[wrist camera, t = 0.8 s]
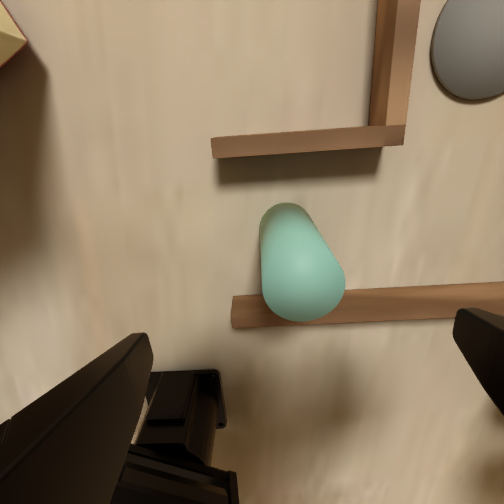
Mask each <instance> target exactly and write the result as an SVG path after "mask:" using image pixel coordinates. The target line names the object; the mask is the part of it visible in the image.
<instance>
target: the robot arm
mask: <svg viewBox="0 0 504 504" xmlns="http://www.w3.org/2000/svg"><path fill="white" fill-rule="evenodd" d="M453 338H454V340H455V342H456V344H457V346H458V347H459V349H460V351H461V352H462V354H463V356H464V357H465V359H466V360H467V362H468V364H469V365H470V367H471V369H472V370H473V372H474V374H475V375H476V377H477V379H478V380H479V382H480V383H481V385H482V387H483V388H484V390H485V391H486V393H487V394H488V395H489V397H490V398H491V400H492V401H493V402H494V404H495V405H496V406H497V408H498V409H499V410H500V412H501V413H502V414H503V416H504V317H502V316H499V315H496V314H494V313H491V312H488V311H485V310H482V309H479V308H476V307H466V308H460V309H458V310H457V312H456V317H455V322H454V327H453ZM152 365H153V352H152V349H151V345H150V341H149V338H148V335H147V334H146V333H144V332H143V333H132V334H130V335H129V336H127V337H126V338H125V339H123V340H122V341H120V342H119V343H117V344H116V345H114V346H113V347H112V348H110V349H109V350H107V351H106V352H104V353H103V354H101V355H100V356H99V357H97V358H96V359H94V360H93V361H91V362H90V363H88V364H87V365H86V366H84V367H83V368H81V369H80V370H78V371H77V372H76V373H74V374H73V375H71V376H70V377H68V378H67V379H65V380H64V381H63V382H61V383H60V384H58V385H57V386H55V387H54V388H52V389H51V390H50V391H48V392H47V393H45V394H44V395H42V396H41V397H39V398H38V399H37V400H35V401H34V402H32V403H31V404H29V405H28V406H27V407H25V408H24V409H22V410H21V411H19V412H18V413H16V414H15V415H14V416H12V417H11V420H10V419H8V420H6V421H5V422H3V423H2V424H0V504H239V496H238V486H237V476H236V472H233V471H228V472H227V471H224V470H221V469H217V468H214V467H211V460H212V452H213V445H214V437H215V430H216V429H222V428H225V427H226V423H227V419H226V412H225V405H224V398H223V391H222V383H221V376H220V372H219V371H218V370H214V369H212V370H189V371H166V372H151V369H152ZM213 375H214V376H213ZM145 396H146V399H147V403H148V409H147V411H146V414H145V417H144V419H143V422H142V424H141V427H140V430H139V432H138V435H137V437H136V440H135V443H134V444H131V440H132V438H133V435H134V432H135V429H136V426H137V423H138V420H139V417H140V414H141V411H142V407H143V403H144V399H145Z"/></svg>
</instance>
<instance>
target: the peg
mask: <svg viewBox="0 0 504 504" xmlns="http://www.w3.org/2000/svg"><path fill="white" fill-rule="evenodd" d="M260 250H261V274H262V292H263V297H264V299H265V302H266V303H267V305H268V306H269V308H270V309H271V310H272V311H273V312H274V313H276V314H277V315H279V316H280V317H282V318H285V319H287V320H291V321H298V322H305V321H311V320H315V319H318V318H321V317H323V316H325V315H326V314H328V313H329V312H331V311H332V310H333V309H334V308H335V307H336V306H337V305H338V303H339V302H340V300H341V298H342V296H343V294H344V290H345V276H344V273H343V270H342V268H341V266H340V265H339V263H338V261H337V260H336V258H335V257H334V255H333V253H332V252H331V250H330V248H329V247H328V245H327V244H326V242H325V240H324V239H323V237H322V236H321V234H320V232H319V231H318V229H317V227H316V226H315V224H314V223H313V221H312V219H311V218H310V216H309V214H308V213H307V212H306V211H305V210H304V209H303V208H302V207H300V206H299V205H296V204H293V203H280V204H277V205H275V206H273V207H271V208H270V209H269V210H268V211H266V213H265V214H264V215H263V217H262V219H261V222H260Z"/></svg>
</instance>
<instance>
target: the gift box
mask: <svg viewBox="0 0 504 504" xmlns="http://www.w3.org/2000/svg"><path fill="white" fill-rule="evenodd" d="M27 43H28V40H27V38H26V37H25V35H24V34H23V32H22V31H21V29H20V28H19V27H18V25H17V24H16V22H15V21H14V19H13V18H12V16H11V15H10V13H9V12H8V10H7V9H6V7H5V6H4V4H3V3H2V1H1V0H0V68H1V67H2V66H3V65H4V64H5V63H7V62H8V61H9V60H10V59H11V58H12V57H13V56H15V55H16V54H17V53H18V52H19V51H20V50H22V49H23V48H24V47H25V46H26V44H27Z"/></svg>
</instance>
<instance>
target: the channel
mask: <svg viewBox="0 0 504 504" xmlns="http://www.w3.org/2000/svg"><path fill="white" fill-rule="evenodd" d="M420 2H421V0H378V9H377V22H376V35H375V48H374V61H373V74H372V87H371V100H370V113H369V126H363V127H350V128H336V129H322V130H308V131H294V132H281V133H267V134H253V135H239V136H225V137H215V138H211V147H212V156H213V158H226V157H240V156H255V155H269V154H283V153H298V152H312V151H326V150H340V149H355V148H369V147H383V146H398V145H403V143H404V135H405V126H406V118H407V110H408V101H409V93H410V85H411V77H412V68H413V60H414V52H415V44H416V35H417V27H418V19H419V11H420ZM466 307H476V308H479V309H482V310H485V311H488V312H491V313H494V314H496V315H504V282H488V283H469V284H450V285H431V286H412V287H393V288H374V289H356V290H344V294H343V296H342V298H341V300H340V302H339V303H338V305H337V306H336V307H335V308H334V309H333V310H332V311H331V312H329V313H328V314H326V315H325V316H323V317H321V318H318V319H315V320H311V321H305V322H298V321H291V320H287V319H285V318H282V317H280V316H279V315H277V314H276V313H274V312H273V311H272V310H271V309H270V308H269V306H268V305H267V303H266V302H265V299H264V297H263V294H261V295H242V296H233V302H232V309H231V323H232V328H243V327H264V326H284V325H304V324H325V323H345V322H366V321H386V320H406V319H427V318H447V317H456V312H457V310H458V309H460V308H466Z"/></svg>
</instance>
